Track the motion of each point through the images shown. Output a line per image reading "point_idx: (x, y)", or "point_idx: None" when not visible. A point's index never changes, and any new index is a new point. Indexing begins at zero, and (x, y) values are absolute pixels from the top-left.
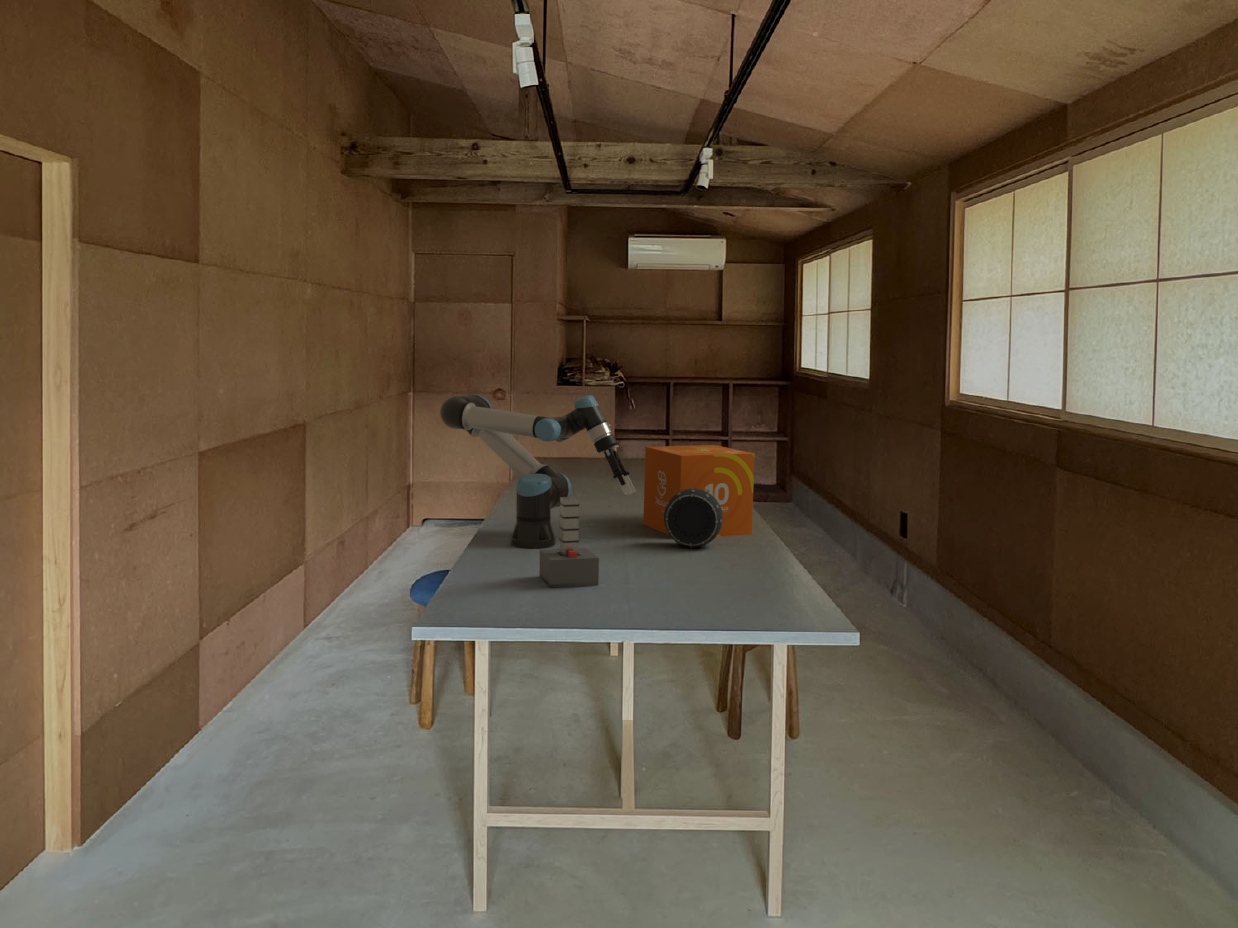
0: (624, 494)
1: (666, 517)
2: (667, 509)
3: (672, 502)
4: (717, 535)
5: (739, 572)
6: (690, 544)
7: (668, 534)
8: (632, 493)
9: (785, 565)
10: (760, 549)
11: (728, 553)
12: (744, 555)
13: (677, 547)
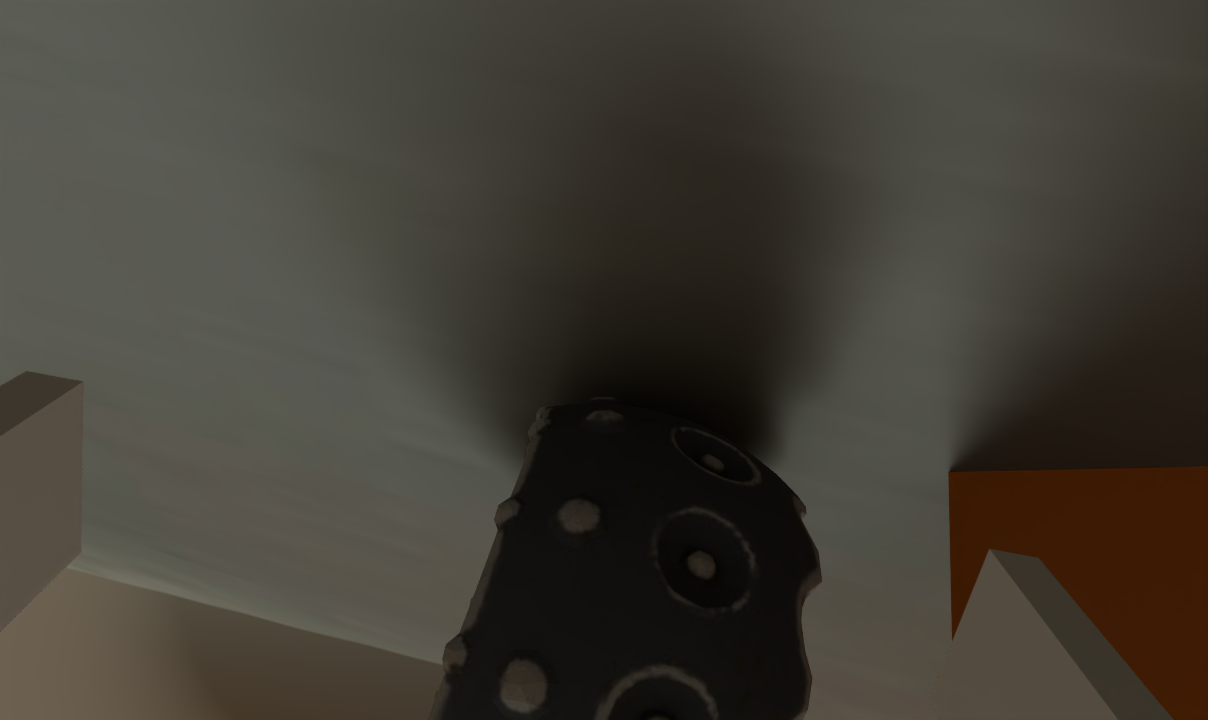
0: (12, 384)
1: (499, 525)
2: (491, 613)
3: (444, 715)
4: None
5: None
6: (527, 451)
7: (1192, 469)
8: (971, 622)
9: (255, 607)
10: None
11: (455, 540)
12: (419, 573)
13: (611, 374)
